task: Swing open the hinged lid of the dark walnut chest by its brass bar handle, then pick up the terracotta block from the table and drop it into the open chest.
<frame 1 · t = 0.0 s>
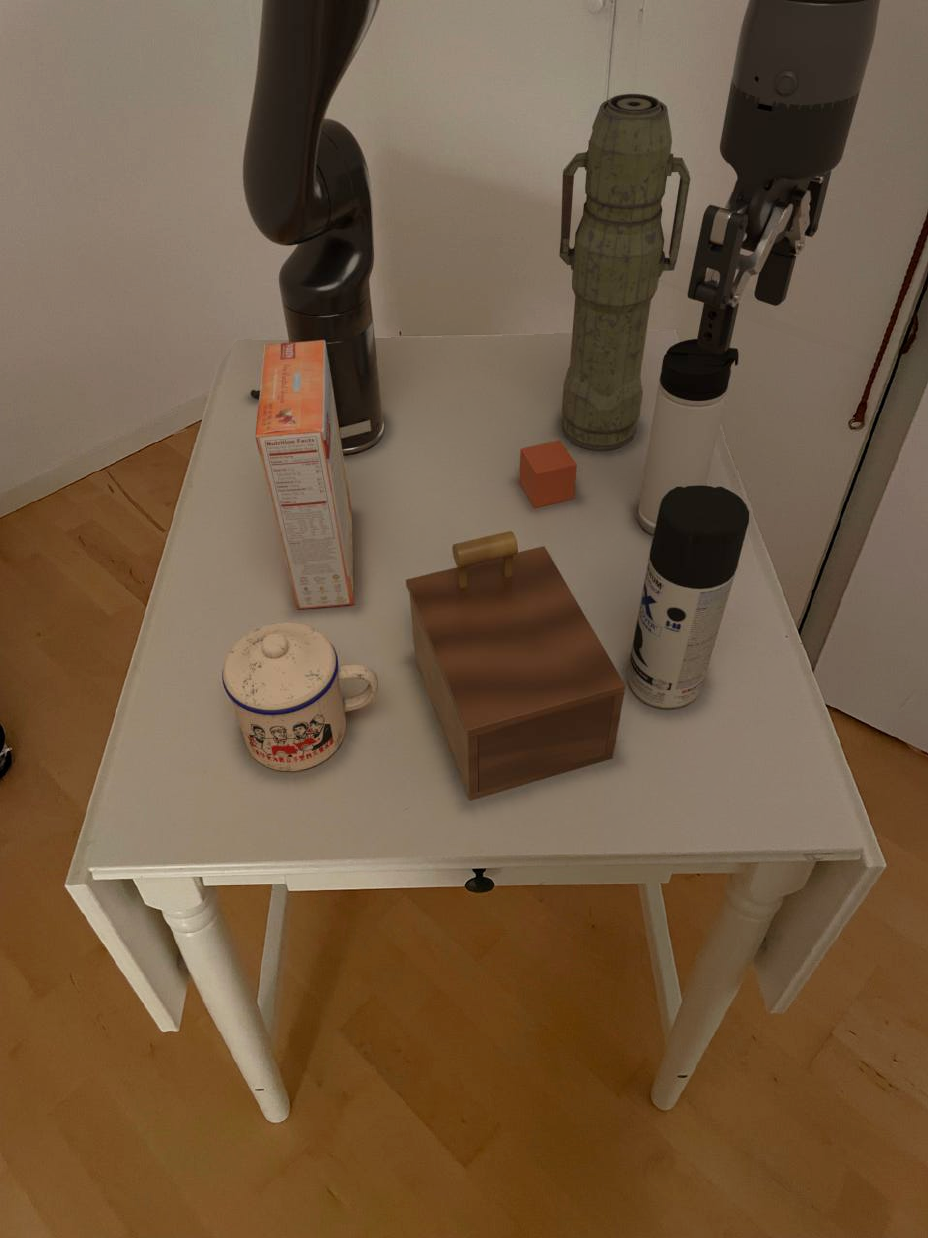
hand: (741, 324, 67), 29 cm above the table, tool pointing down, fingers open, 8 cm apart
lid: (510, 613, 72), point 12 cm above the table, hinge at 0.0°
spray can: (664, 682, 82), on the table
block: (546, 490, 100), on the table
thermos: (597, 429, 108), on the table
cracker box: (324, 561, 93), on the table
chest: (509, 707, 80), on the table
teacup with lid: (313, 730, 79), on the table
travel mug: (668, 521, 96), on the table
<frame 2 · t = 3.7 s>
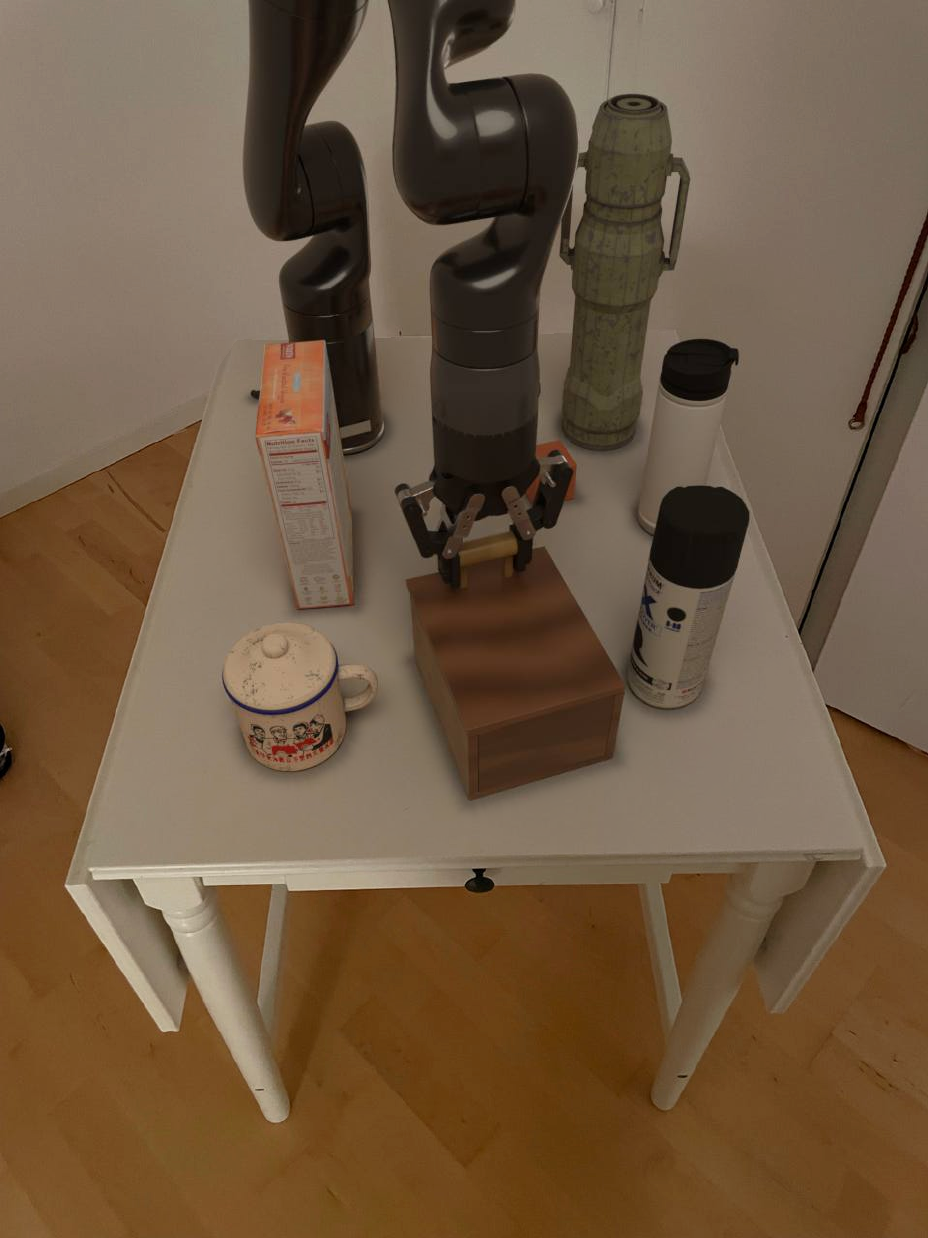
hand: (484, 572, 76), 11 cm above the table, tool pointing down, fingers closed on lid, 5 cm apart
lid: (510, 613, 72), point 11 cm above the table, hinge at 0.0°, touching gripper
everything else where it was.
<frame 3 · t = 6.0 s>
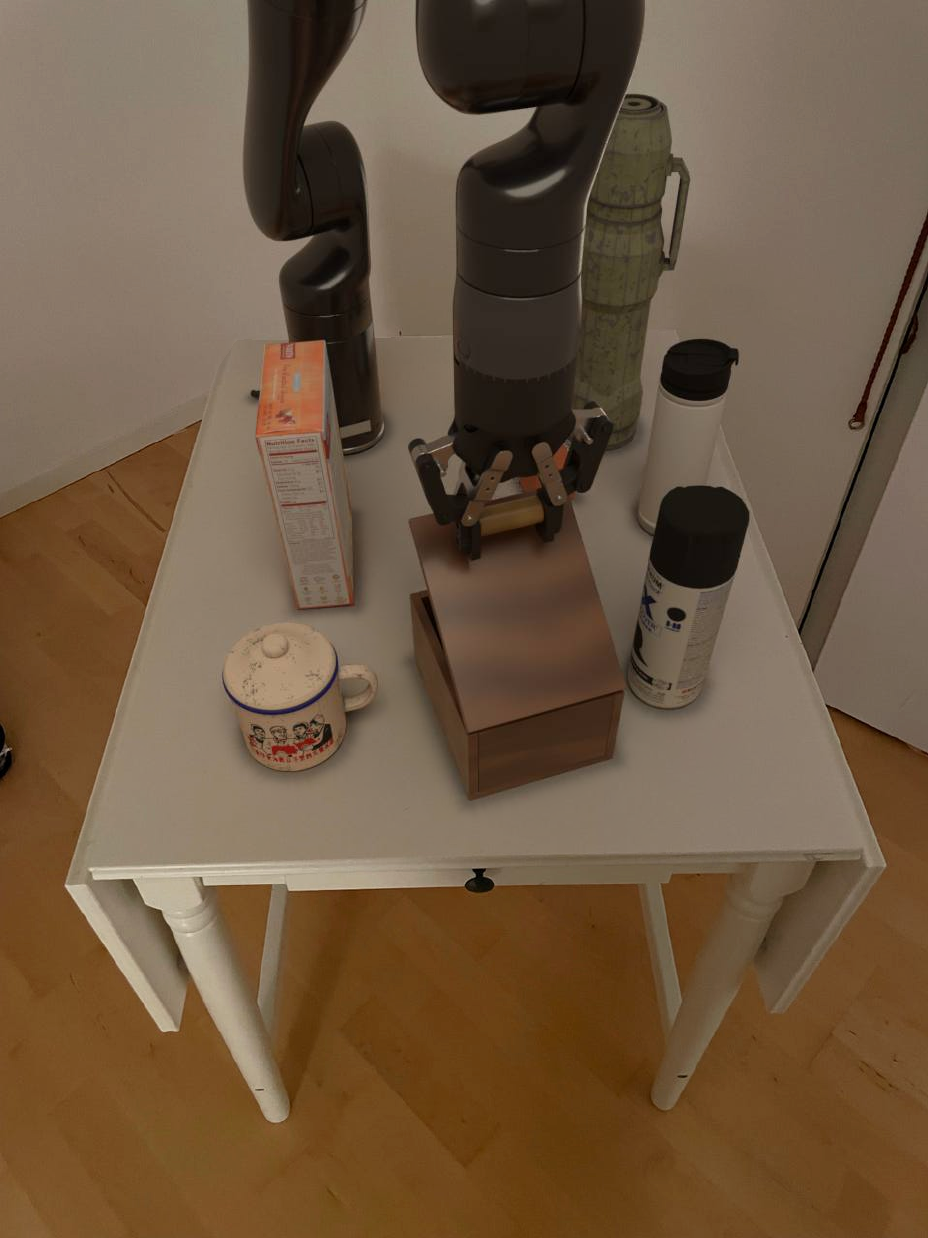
hand: (507, 543, 67), 18 cm above the table, tool pointing down, fingers closed on lid, 5 cm apart
lid: (524, 599, 67), point 16 cm above the table, hinge at 34.8°, touching gripper
everything else where it was.
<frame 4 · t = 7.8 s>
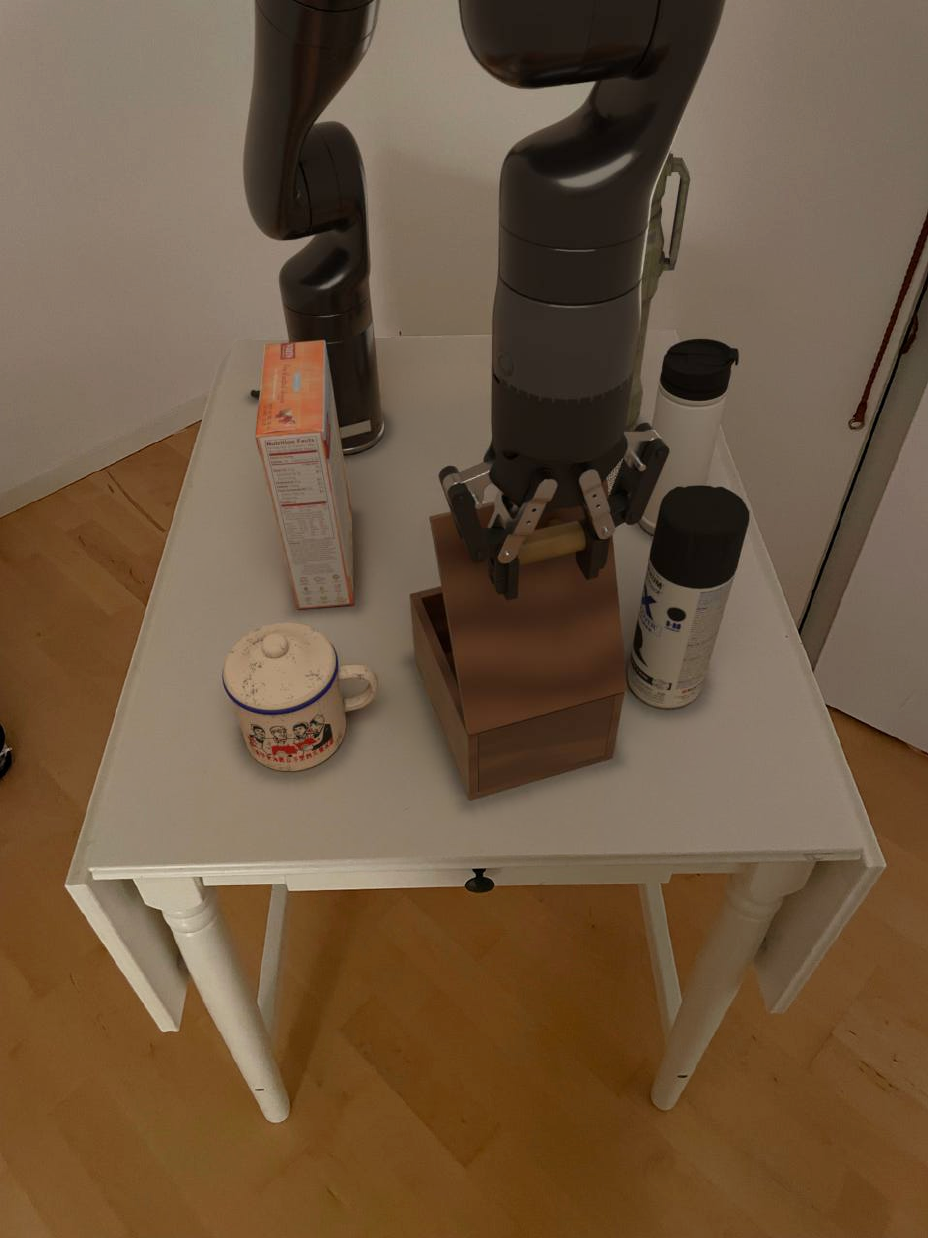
hand: (546, 580, 60), 21 cm above the table, tool pointing down, fingers closed on lid, 5 cm apart
lid: (545, 619, 63), point 18 cm above the table, hinge at 64.3°, touching gripper
everything else where it was.
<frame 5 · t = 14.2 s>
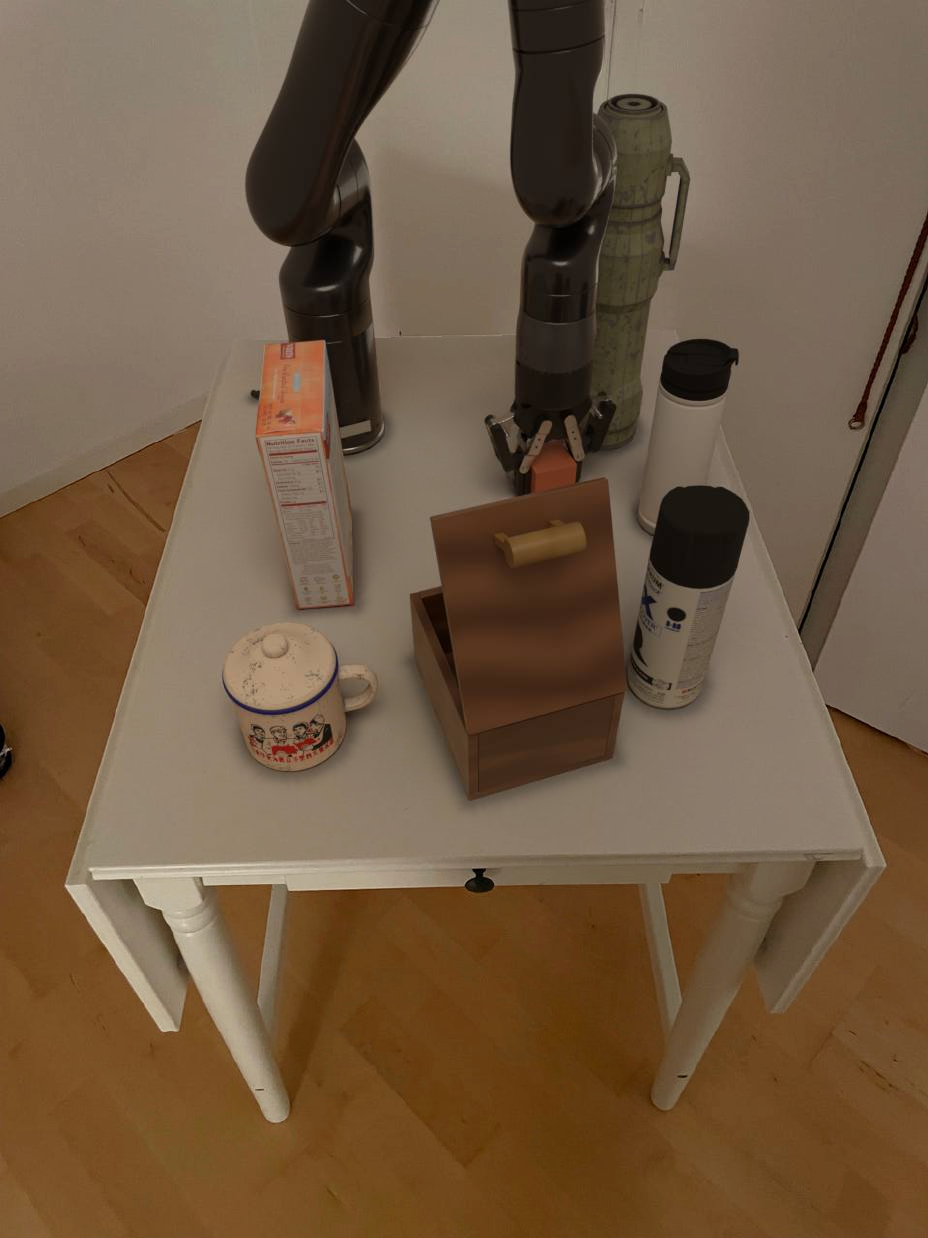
hand: (546, 487, 100), 0 cm above the table, tool pointing down, fingers closed on block, 4 cm apart
lid: (546, 620, 63), point 18 cm above the table, hinge at 64.8°
block: (546, 490, 100), on the table, touching gripper
everything else where it was.
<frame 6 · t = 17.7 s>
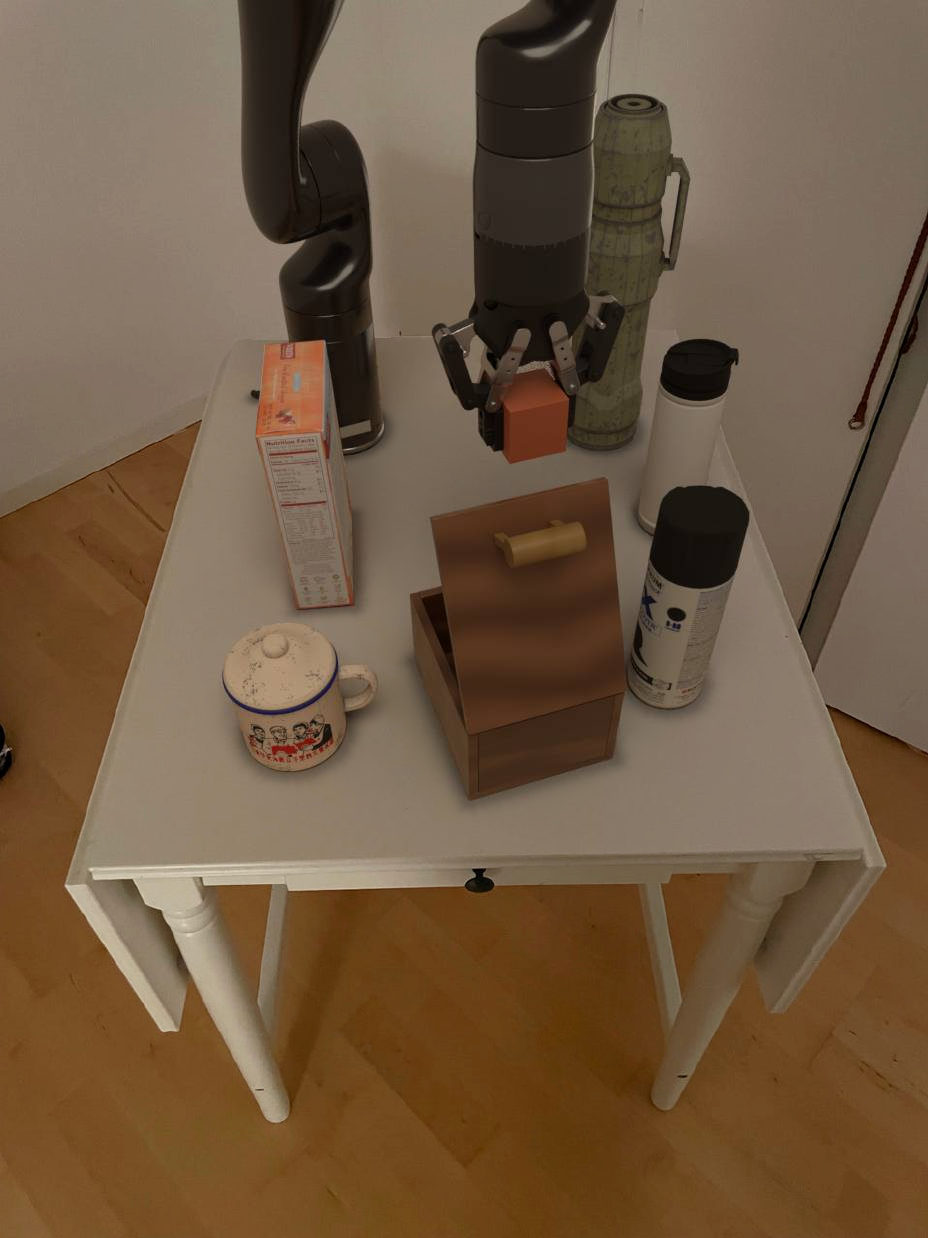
hand: (525, 437, 70), 22 cm above the table, tool pointing down, fingers closed on block, 4 cm apart
block: (526, 441, 70), point 21 cm above the table, touching gripper
everything else where it was.
when the fingers open (8 cm above the table, at t = 21.2 s): block drops 7 cm, resting on chest.
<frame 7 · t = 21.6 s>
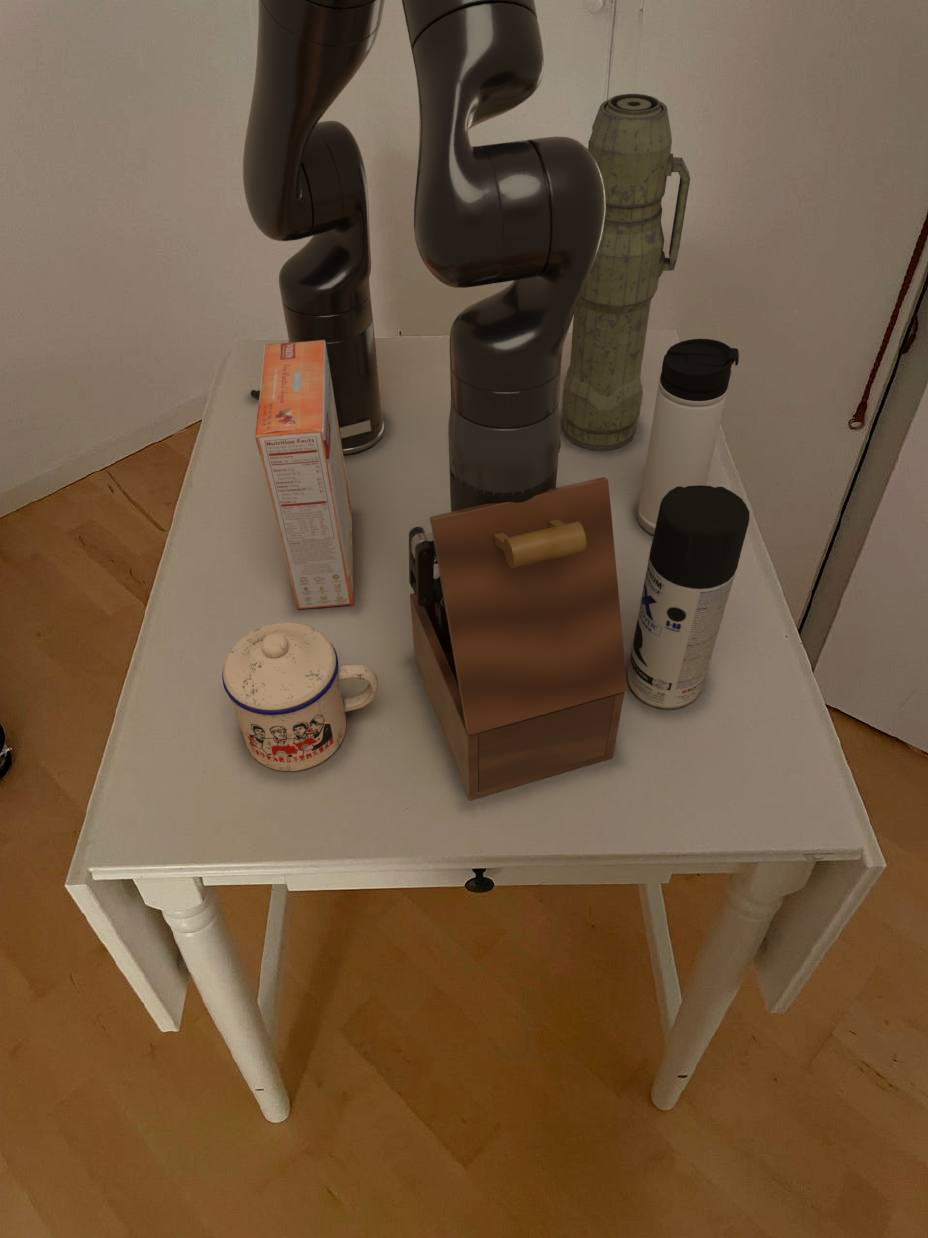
hand: (500, 615, 75), 9 cm above the table, tool pointing down, fingers open, 8 cm apart
block: (500, 680, 81), point 1 cm above the table, touching chest
everything else where it was.
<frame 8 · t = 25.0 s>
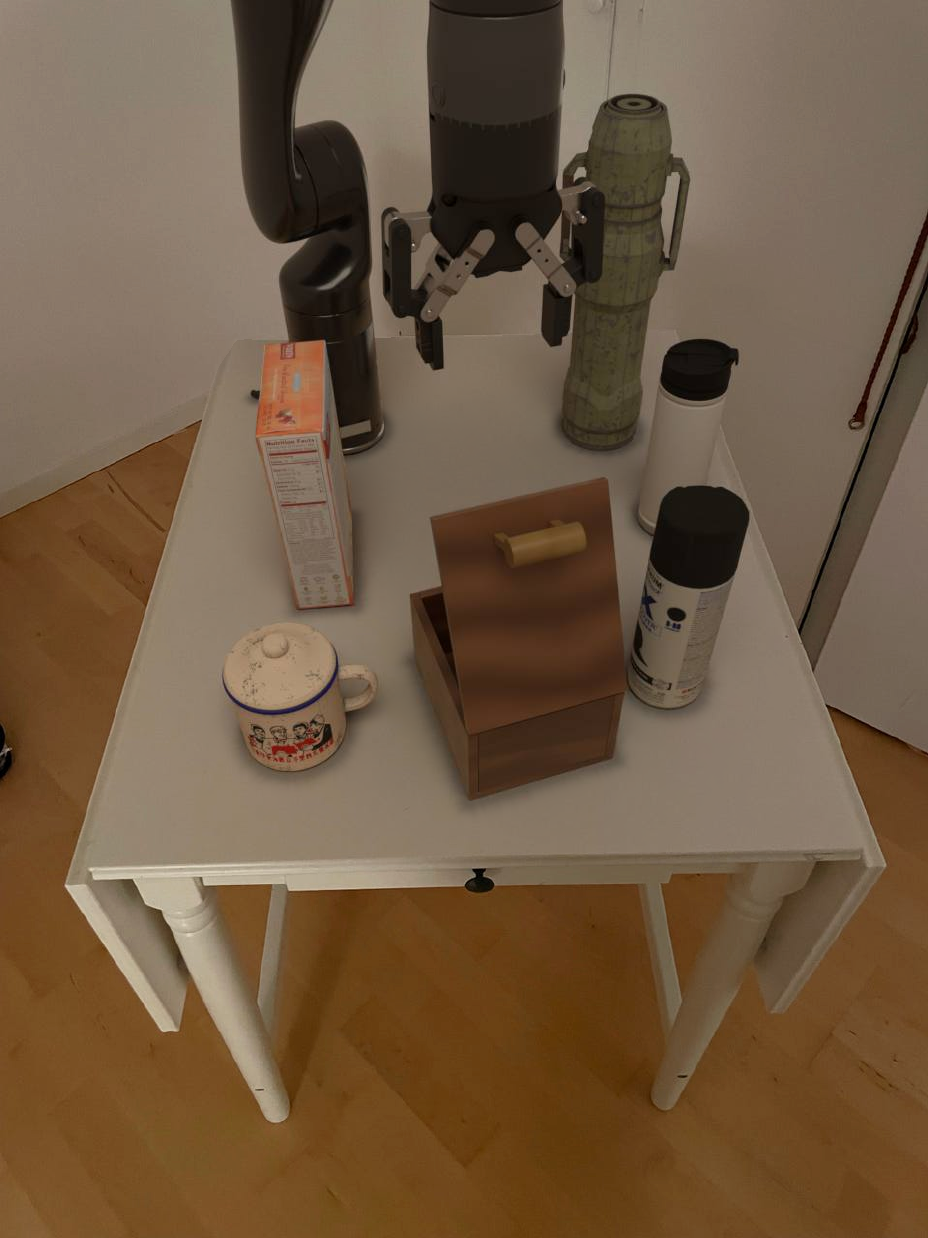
hand: (493, 352, 63), 30 cm above the table, tool pointing down, fingers open, 8 cm apart
nothing on the table moved.
at the end: lid at +65° (first picture: +0°); block inside the target area in the chest (2.4 cm from its centre), point 0.8 cm above the chest's base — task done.
